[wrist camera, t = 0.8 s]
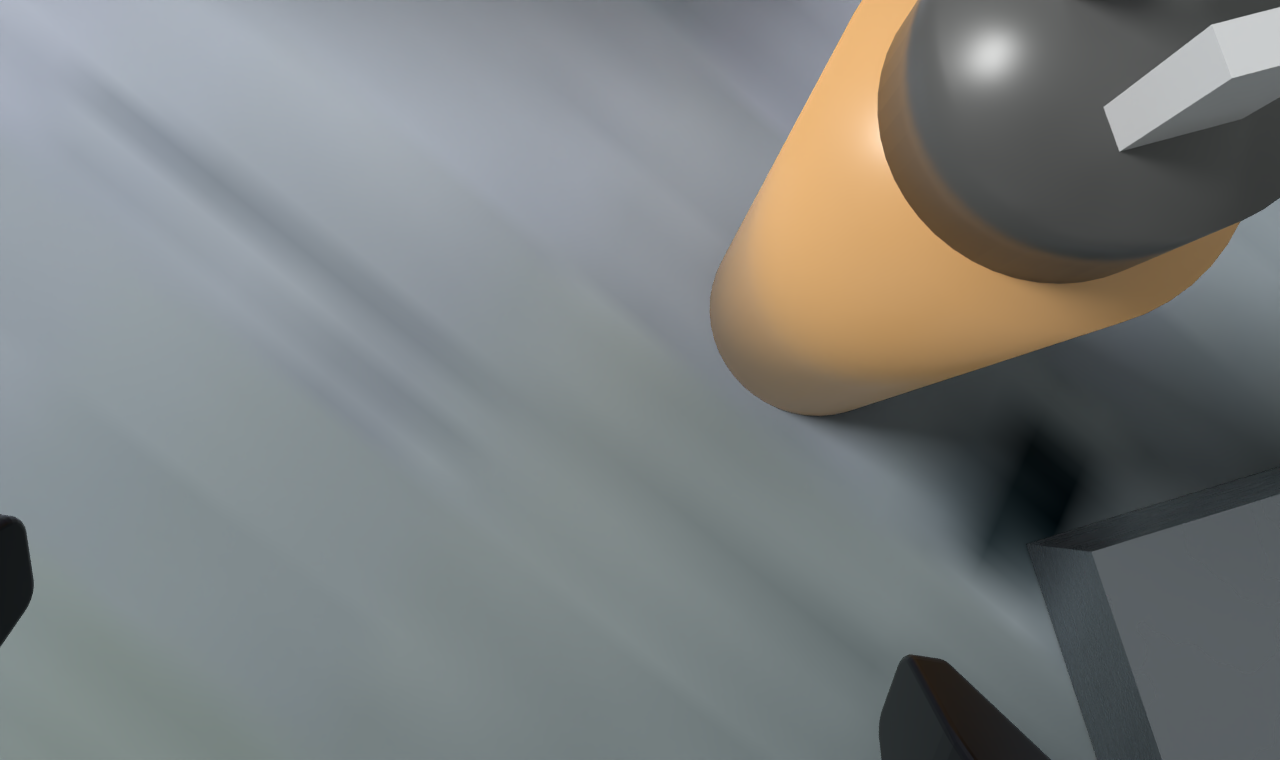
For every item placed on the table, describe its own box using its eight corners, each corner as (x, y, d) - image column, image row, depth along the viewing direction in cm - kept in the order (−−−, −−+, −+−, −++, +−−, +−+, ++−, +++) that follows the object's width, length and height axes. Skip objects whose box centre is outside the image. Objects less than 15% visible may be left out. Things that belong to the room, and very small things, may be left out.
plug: (946, 383, 23) (1667, 158, 7) (744, 441, 22) (1068, 326, 7) (881, 186, 24) (1423, -400, 8) (684, 239, 23) (859, -276, 8)
